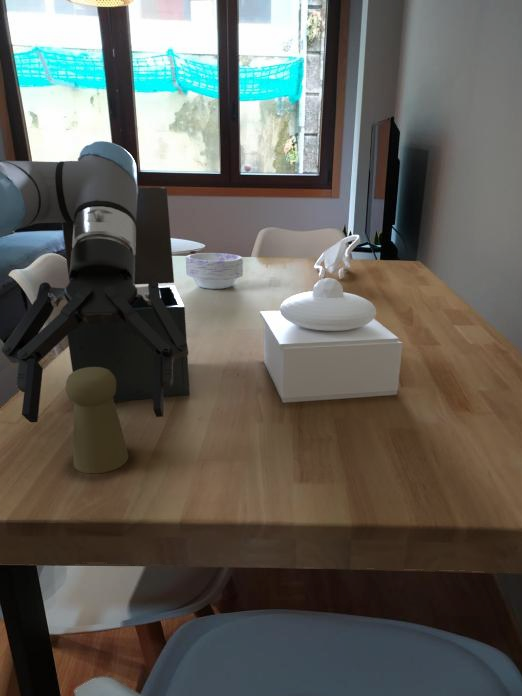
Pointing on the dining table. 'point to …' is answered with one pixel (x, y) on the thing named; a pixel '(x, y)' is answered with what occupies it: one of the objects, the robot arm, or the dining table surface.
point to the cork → (95, 421)
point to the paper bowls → (214, 269)
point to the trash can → (131, 350)
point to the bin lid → (144, 238)
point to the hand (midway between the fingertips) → (94, 416)
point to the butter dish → (329, 347)
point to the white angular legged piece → (337, 257)
